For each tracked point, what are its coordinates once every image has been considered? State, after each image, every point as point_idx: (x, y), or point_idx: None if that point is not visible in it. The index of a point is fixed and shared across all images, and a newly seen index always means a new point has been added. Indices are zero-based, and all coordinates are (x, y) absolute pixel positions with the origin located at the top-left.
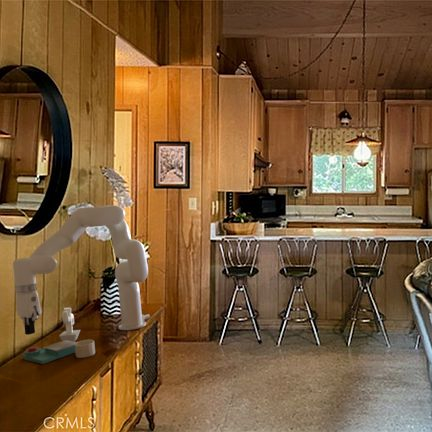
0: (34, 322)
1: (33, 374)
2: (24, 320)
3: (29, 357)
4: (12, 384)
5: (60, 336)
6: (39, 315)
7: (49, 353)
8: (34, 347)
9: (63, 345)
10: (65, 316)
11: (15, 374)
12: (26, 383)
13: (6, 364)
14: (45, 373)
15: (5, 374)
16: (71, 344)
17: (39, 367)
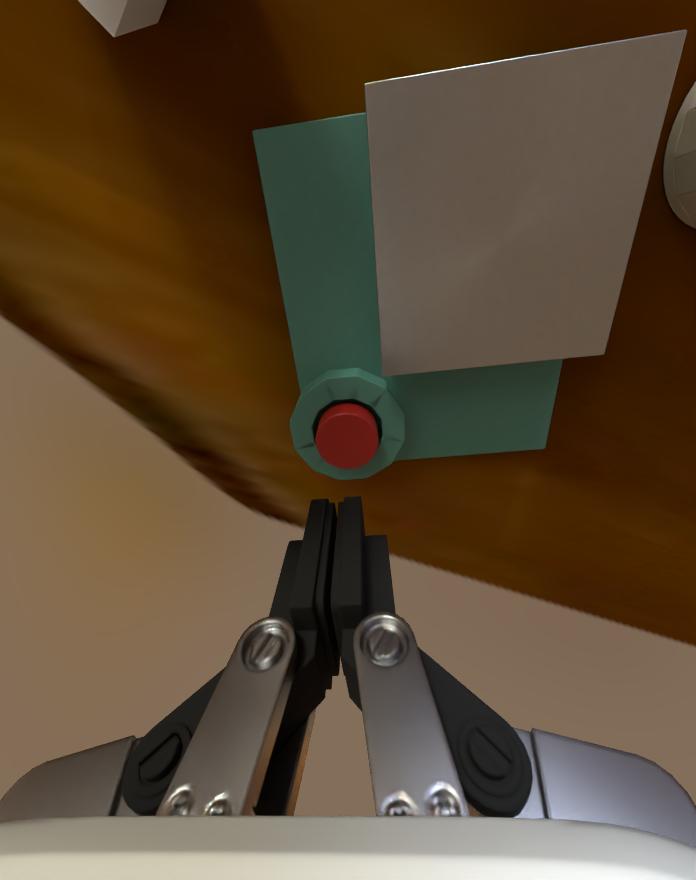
0: (410, 637)
1: (620, 524)
2: (296, 779)
3: (393, 460)
4: (618, 600)
5: (125, 15)
6: (676, 845)
7: None
8: (361, 435)
9: (542, 232)
10: None
11: (518, 557)
12: (681, 576)
13: None
14: (685, 492)
15: (466, 574)
16: (618, 151)
17: (562, 469)
